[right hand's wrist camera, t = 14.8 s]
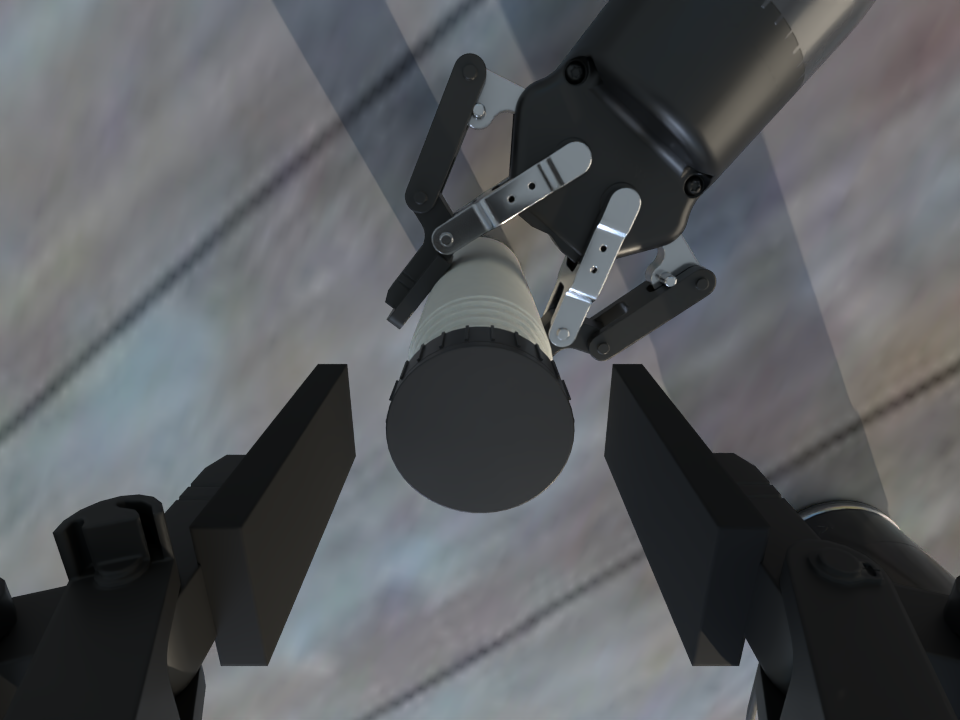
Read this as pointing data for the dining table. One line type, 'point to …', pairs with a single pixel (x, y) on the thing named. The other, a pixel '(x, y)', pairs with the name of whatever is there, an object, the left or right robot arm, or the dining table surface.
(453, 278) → the bottle
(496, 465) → the cap
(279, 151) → the dining table surface
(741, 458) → the right robot arm
